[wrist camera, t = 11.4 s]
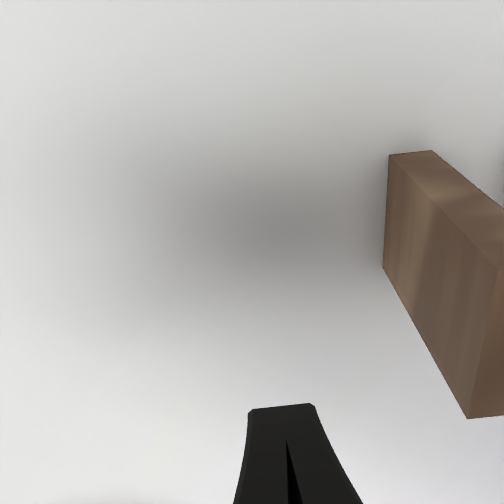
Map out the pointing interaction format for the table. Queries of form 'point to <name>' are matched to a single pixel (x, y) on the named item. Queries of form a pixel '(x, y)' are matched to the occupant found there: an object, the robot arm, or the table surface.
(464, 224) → the walnut domino
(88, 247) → the table surface
